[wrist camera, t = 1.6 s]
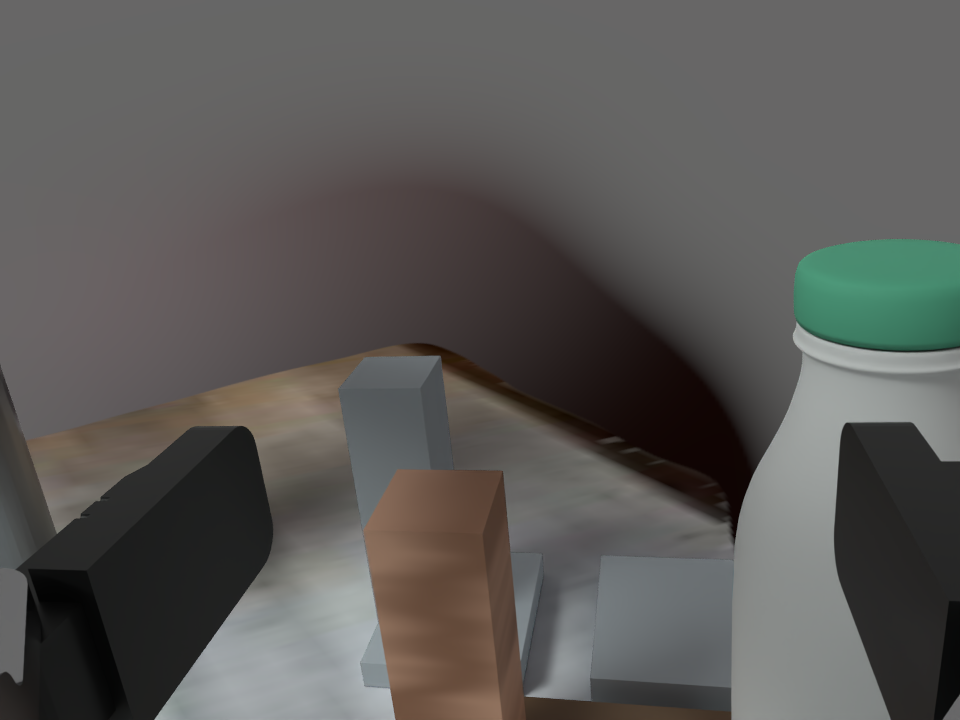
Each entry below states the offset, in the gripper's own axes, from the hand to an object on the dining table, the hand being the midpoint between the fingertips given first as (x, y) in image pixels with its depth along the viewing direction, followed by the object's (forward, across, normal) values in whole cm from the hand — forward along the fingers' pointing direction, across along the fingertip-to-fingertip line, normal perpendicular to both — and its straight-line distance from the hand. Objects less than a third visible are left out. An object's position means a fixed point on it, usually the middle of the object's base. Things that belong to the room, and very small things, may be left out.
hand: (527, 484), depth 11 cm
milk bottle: (+11, -8, +20) cm, 24 cm away
